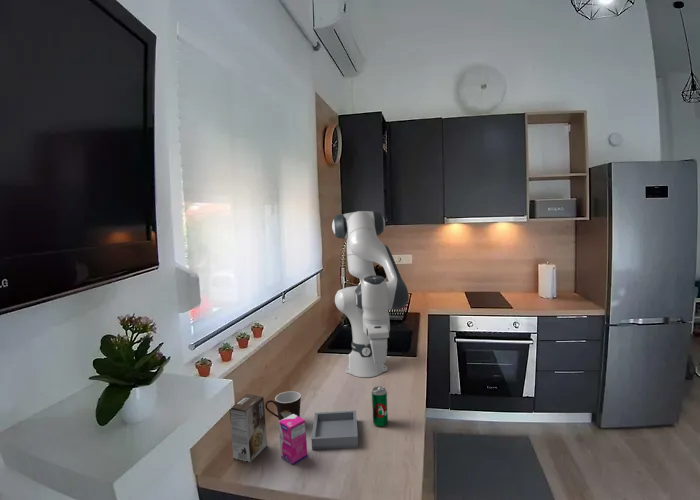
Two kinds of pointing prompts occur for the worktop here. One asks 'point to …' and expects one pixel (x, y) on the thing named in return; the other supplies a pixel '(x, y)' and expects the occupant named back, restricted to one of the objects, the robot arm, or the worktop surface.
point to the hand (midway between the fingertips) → (378, 366)
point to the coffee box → (248, 427)
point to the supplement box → (293, 438)
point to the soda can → (379, 406)
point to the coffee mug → (286, 404)
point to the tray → (334, 430)
